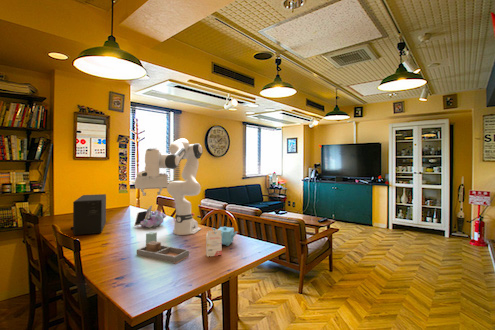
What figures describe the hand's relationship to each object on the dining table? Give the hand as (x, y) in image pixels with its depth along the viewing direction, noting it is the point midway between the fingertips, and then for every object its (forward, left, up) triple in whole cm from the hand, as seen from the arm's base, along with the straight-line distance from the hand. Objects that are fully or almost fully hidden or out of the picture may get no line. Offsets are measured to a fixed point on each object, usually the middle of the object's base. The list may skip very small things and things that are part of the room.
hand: (151, 195), depth 162 cm
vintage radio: (-9, -70, -32) cm, 78 cm away
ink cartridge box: (-2, +45, -32) cm, 55 cm away
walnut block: (+12, +13, -32) cm, 36 cm away
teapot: (-22, +41, -32) cm, 57 cm away
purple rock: (-35, -34, -32) cm, 59 cm away
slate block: (+1, +1, -32) cm, 32 cm away
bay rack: (+12, +20, -32) cm, 39 cm away
